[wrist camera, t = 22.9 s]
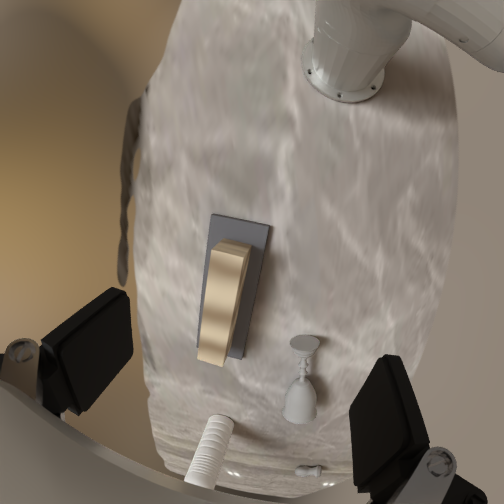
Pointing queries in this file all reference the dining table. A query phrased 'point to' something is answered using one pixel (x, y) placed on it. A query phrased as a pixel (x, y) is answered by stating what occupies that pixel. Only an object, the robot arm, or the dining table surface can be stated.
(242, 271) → the grooved wooden block
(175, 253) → the dining table surface
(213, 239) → the tool pad
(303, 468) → the smooth white sculpture
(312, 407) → the chalice
